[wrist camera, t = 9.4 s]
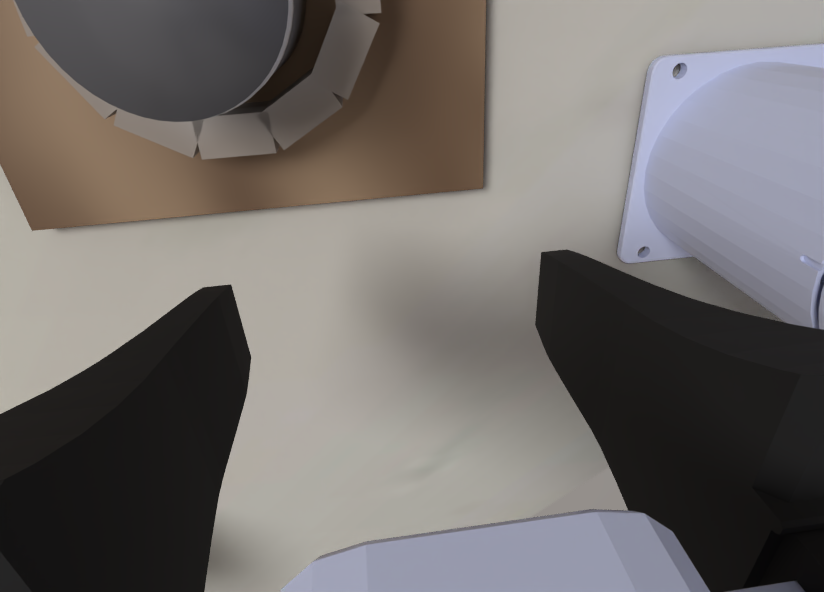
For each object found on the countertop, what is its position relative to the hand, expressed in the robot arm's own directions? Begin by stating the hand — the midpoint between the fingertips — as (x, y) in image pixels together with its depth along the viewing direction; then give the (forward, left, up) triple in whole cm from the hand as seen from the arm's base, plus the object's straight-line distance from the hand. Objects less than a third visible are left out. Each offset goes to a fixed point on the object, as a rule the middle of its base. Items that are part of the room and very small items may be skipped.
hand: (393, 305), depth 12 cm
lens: (+4, -7, -8) cm, 11 cm away
